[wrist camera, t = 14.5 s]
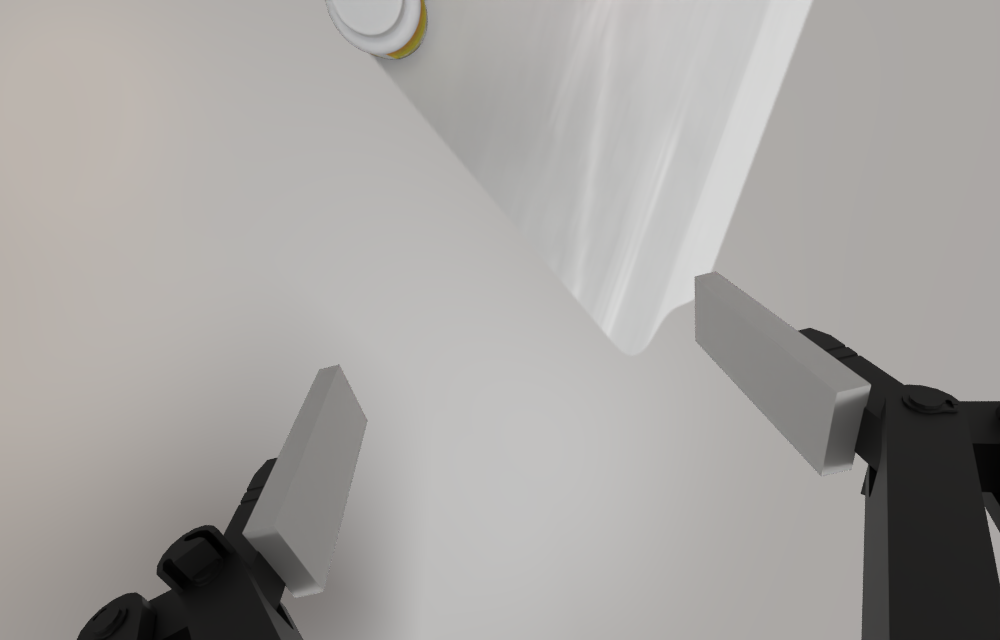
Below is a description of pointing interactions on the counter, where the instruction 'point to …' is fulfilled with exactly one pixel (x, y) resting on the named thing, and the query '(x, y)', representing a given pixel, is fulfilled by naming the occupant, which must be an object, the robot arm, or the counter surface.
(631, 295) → the counter surface
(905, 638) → the robot arm
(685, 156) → the counter surface
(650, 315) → the counter surface
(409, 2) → the supplement bottle
